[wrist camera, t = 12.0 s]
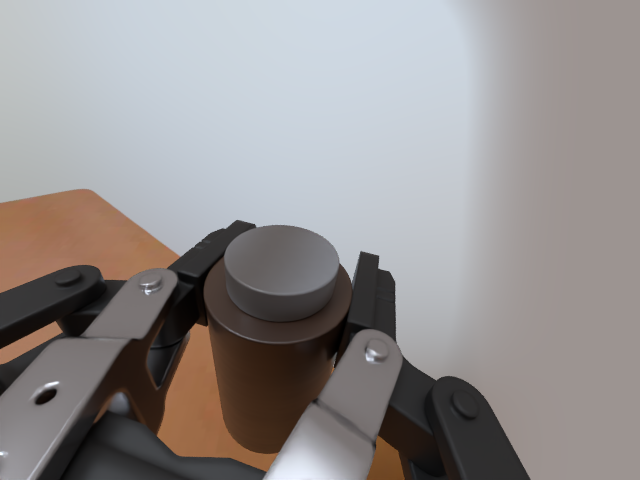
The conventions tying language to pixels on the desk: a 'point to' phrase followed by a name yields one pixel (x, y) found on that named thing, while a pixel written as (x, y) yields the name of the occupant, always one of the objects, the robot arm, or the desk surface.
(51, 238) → the desk surface
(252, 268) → the pepper grinder
